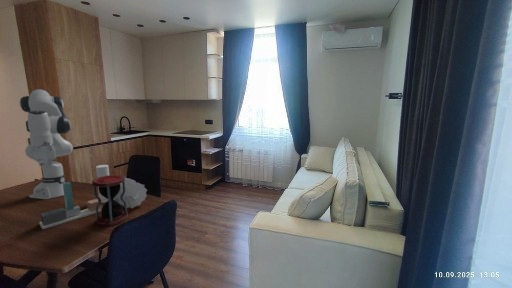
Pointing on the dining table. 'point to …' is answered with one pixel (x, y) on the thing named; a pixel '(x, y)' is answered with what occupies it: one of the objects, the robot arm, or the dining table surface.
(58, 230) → the dining table surface
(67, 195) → the teal oblong box
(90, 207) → the salmon pink block
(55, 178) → the robot arm
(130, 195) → the spiral staircase
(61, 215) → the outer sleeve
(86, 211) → the base board
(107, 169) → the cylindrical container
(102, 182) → the hourglass
